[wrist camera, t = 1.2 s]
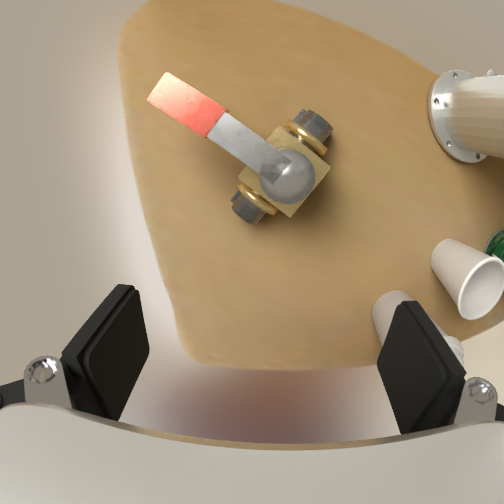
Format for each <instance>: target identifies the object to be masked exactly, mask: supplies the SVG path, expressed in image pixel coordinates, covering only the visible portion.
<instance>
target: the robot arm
mask: <svg viewBox="0 0 504 504" xmlns="http://www.w3.org/2000/svg"><path fill="white" fill-rule="evenodd" d="M428 114H429V119H430V124H431V127H432V130H433V132H434V135H435V137H436V138H437V140H438V142H439V144H440V145H441V146H442V148H443V149H444V150H445V151H446V152H447V153H448V154H449V155H450V156H452V157H453V158H455V159H457V160H459V161H462V162H466V163H476V162H480V161H481V160H483V159H485V158H486V157H487V156H488V155H489V156H494V157H498V158H503V159H504V75H497V74H496V73H495V72H494V71H493V70H491V69H490V70H489V71H488V72H487V74H486V76H482V77H474V76H473V75H471V74H469V73H468V72H465V71H462V70H451V71H447V72H444V73H442V74H441V75H439V76H438V77H437V78H436V79H435V81H434V82H433V84H432V86H431V88H430V92H429V96H428ZM148 355H149V343H148V338H147V333H146V328H145V323H144V318H143V312H142V306H141V301H140V295H139V291H138V290H135V288H134V286H132V285H124V284H118V285H117V286H116V287H115V288H114V289H113V290H112V291H111V293H110V294H109V295H108V296H107V297H106V298H105V300H104V301H103V302H102V303H101V304H100V306H99V307H98V308H97V309H96V310H95V311H94V313H93V314H92V315H91V316H90V318H89V319H88V320H87V321H86V322H85V324H84V325H83V326H82V327H81V329H80V330H79V331H78V332H77V333H76V335H75V336H74V337H73V338H72V340H71V341H70V342H69V344H68V345H67V346H66V347H65V349H64V350H63V351H62V357H61V358H60V360H58V359H57V358H55V357H53V356H41V357H39V358H36V359H34V360H33V361H31V362H30V363H29V364H28V365H27V366H26V369H25V370H24V379H22V380H19V381H15V382H12V383H9V384H6V385H2V386H0V504H504V406H503V405H501V404H498V403H497V399H498V398H497V392H496V389H495V388H494V386H493V385H492V384H491V383H490V382H489V381H487V380H485V379H482V378H479V377H473V378H470V379H468V380H467V381H465V379H464V376H465V374H466V371H465V370H464V368H463V366H462V365H461V363H460V362H459V360H458V359H457V357H456V355H455V354H454V352H453V351H452V349H451V348H450V346H449V345H448V343H447V342H446V340H445V339H444V337H443V336H442V335H441V333H440V332H439V330H438V329H437V327H436V326H435V324H434V323H433V322H432V320H431V319H430V317H429V316H428V315H427V313H426V312H425V311H424V309H423V308H422V306H421V305H420V304H419V302H417V301H402V302H401V304H400V305H397V307H396V309H395V312H394V315H393V318H392V321H391V324H390V327H389V330H388V333H387V336H386V339H385V341H384V344H383V347H382V349H381V352H380V355H379V357H378V360H377V367H378V370H379V373H380V375H381V378H382V381H383V384H384V386H385V389H386V392H387V395H388V398H389V400H390V403H391V406H392V409H393V412H394V415H395V418H396V421H397V424H398V427H399V430H400V433H401V435H397V436H390V437H384V438H376V439H369V440H359V441H349V442H335V443H316V444H266V443H247V442H234V441H223V440H214V439H205V438H198V437H191V436H185V435H178V434H172V433H167V432H161V431H157V430H152V429H147V428H143V427H139V426H134V425H130V424H126V423H122V422H118V420H119V418H120V416H121V414H122V412H123V409H124V407H125V405H126V403H127V400H128V398H129V396H130V394H131V392H132V389H133V387H134V385H135V383H136V381H137V379H138V377H139V374H140V372H141V370H142V368H143V366H144V364H145V362H146V360H147V358H148Z"/></svg>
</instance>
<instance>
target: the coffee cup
mask: <svg viewBox="0 0 504 504" xmlns="http://www.w3.org/2000/svg"><path fill="white" fill-rule="evenodd" d="M402 301H415V300H414V299H413V298H412V297H411V296H410V295H409V294H408V293H406V292H405V291H402V290H392V291H389V292H387V293H385V294H383V295H382V296H381V297H380V298H379V299H378V300H377V301H376V303H375V304H374V306H373V309H372V320H373V323H374V325H375V328H376V331H377V334H378V337H379V340H380V343H381V346H382V347H383V344H384V341H385V339H386V336H387V333H388V330H389V327H390V324H391V321H392V318H393V315H394V312H395V309H396V307H397V305H400V304H401V302H402ZM427 315H428V314H427ZM428 316H429V315H428ZM429 317H430V316H429ZM430 319H431V320H432V322H433V323H434V324H435V326H436V327H437V329H438V330H439V332H440V333H441V335H442V336H443V337H444V339H445V340H446V342H447V343H448V345H449V346H450V348H451V349H452V351H453V352H454V354H455V355H456V357H457V359H458V360H459V362H460V363H461V365H462V366H463V368H464V361H463V349H462V346H461V343H460V342H459V340H458V339H456V338H454V337H451V336H448V334H447V333H446V332H445V331H444V330H443V329H442V328H441V327H440V326H439V325H438V324H437V323H436V322H435V321H434V320H433V319H432V318H431V317H430Z"/></svg>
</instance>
